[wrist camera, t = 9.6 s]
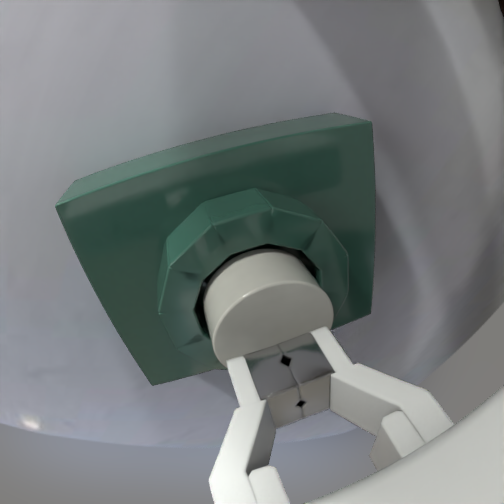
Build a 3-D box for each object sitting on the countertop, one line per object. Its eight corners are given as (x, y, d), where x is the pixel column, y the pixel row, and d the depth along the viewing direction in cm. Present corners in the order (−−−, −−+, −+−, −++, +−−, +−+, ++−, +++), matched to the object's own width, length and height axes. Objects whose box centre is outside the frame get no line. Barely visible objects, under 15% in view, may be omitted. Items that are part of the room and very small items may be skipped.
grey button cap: (218, 349, 12) (229, 389, 11) (188, 268, 10) (196, 307, 9) (312, 318, 13) (334, 353, 11) (305, 233, 11) (333, 263, 9)
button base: (149, 345, 17) (155, 419, 13) (73, 181, 12) (35, 230, 8) (345, 283, 19) (391, 338, 15) (335, 112, 14) (406, 130, 9)
